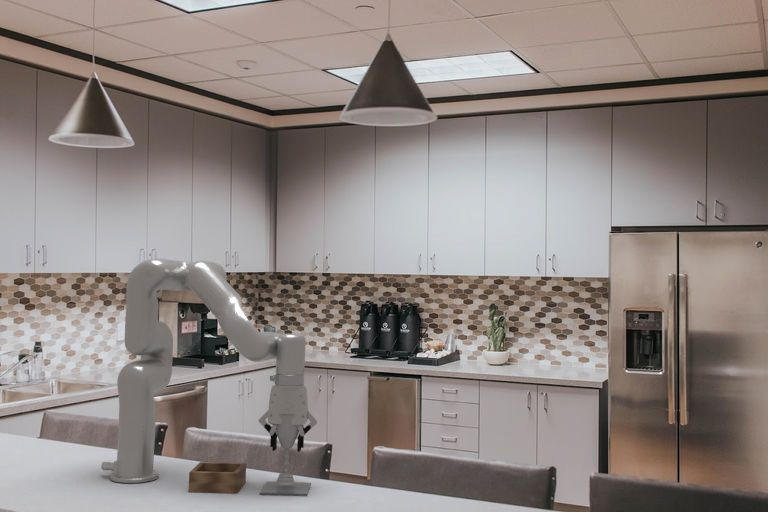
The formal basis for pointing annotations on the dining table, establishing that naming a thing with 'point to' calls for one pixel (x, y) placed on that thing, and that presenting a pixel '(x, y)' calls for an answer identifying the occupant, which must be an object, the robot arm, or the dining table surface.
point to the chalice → (286, 446)
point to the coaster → (286, 489)
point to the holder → (217, 477)
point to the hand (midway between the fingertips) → (286, 449)
